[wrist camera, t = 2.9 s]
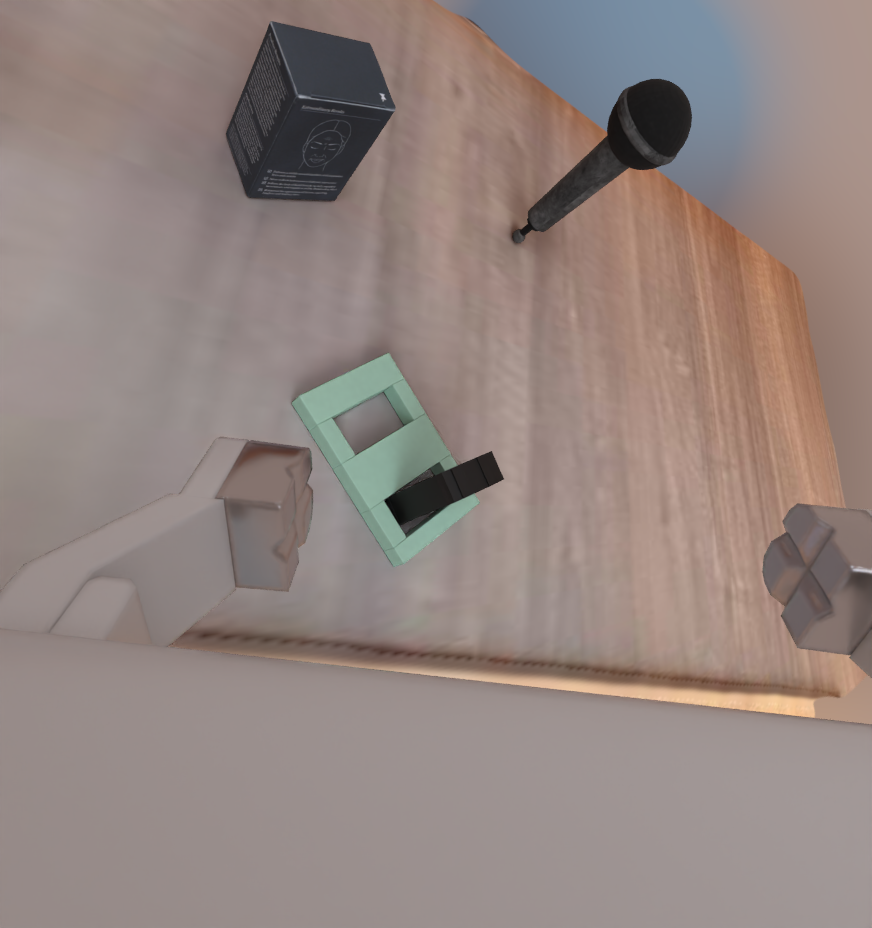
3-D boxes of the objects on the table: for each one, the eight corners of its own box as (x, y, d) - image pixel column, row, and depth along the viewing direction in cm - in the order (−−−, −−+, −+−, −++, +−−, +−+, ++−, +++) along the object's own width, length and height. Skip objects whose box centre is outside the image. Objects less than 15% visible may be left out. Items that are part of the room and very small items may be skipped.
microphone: (491, 257, 61) (662, 111, 45) (486, 200, 63) (648, 40, 47) (542, 278, 64) (716, 149, 49) (536, 223, 66) (702, 83, 51)
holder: (290, 402, 44) (298, 395, 43) (379, 359, 49) (388, 351, 48) (393, 567, 45) (404, 564, 44) (469, 506, 50) (480, 502, 49)
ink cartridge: (394, 527, 46) (456, 503, 40) (382, 499, 46) (442, 471, 40) (442, 505, 49) (507, 480, 43) (431, 479, 49) (494, 450, 43)
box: (313, 142, 52) (372, 41, 43) (334, 203, 51) (399, 112, 43) (222, 132, 47) (269, 15, 39) (245, 199, 46) (298, 95, 38)
